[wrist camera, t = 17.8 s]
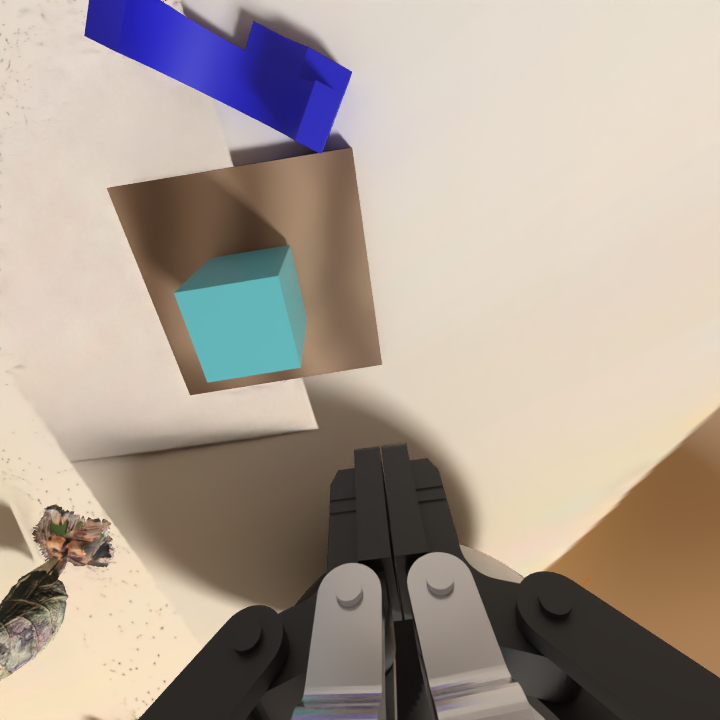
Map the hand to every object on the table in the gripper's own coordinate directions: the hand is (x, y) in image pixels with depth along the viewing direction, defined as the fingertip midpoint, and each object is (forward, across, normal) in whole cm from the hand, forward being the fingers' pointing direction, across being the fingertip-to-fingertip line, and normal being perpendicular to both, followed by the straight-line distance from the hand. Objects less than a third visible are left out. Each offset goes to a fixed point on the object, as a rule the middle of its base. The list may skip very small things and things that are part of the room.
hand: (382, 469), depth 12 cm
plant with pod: (+21, +33, +23) cm, 46 cm away
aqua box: (+20, +7, 0) cm, 21 cm away
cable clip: (+22, +5, -13) cm, 26 cm away
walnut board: (+22, +7, 0) cm, 23 cm away
